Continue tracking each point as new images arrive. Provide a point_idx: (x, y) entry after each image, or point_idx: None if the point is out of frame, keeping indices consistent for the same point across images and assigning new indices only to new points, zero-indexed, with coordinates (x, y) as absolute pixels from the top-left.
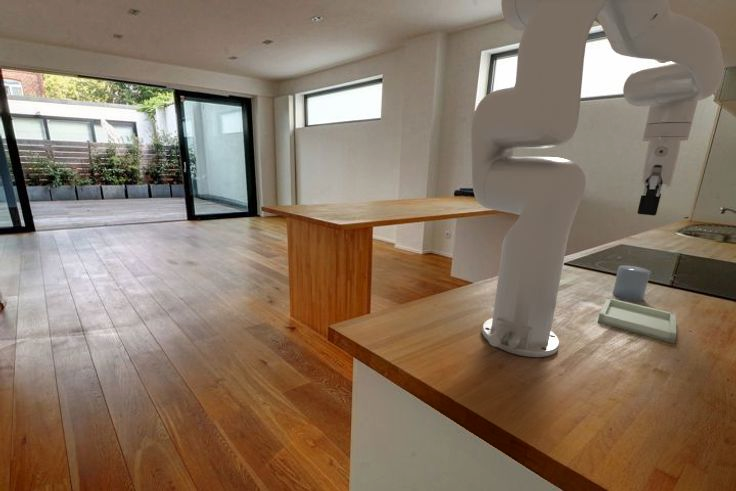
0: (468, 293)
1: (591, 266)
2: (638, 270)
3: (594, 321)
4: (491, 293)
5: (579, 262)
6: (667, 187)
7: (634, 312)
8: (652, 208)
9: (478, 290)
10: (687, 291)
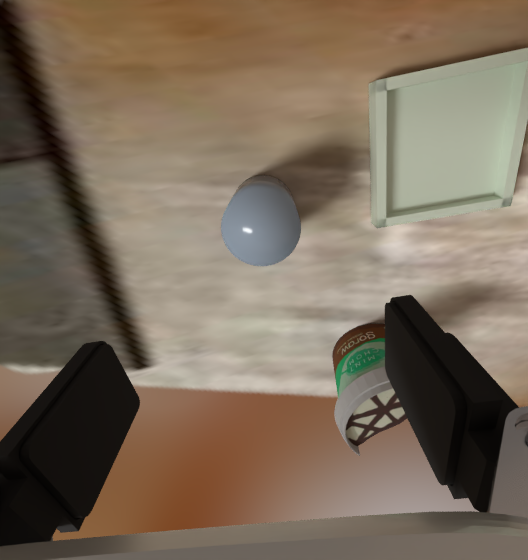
0: None
1: (95, 328)
2: (265, 217)
3: None
4: None
5: None
6: (478, 513)
7: (395, 163)
8: (455, 341)
9: None
10: (55, 110)
